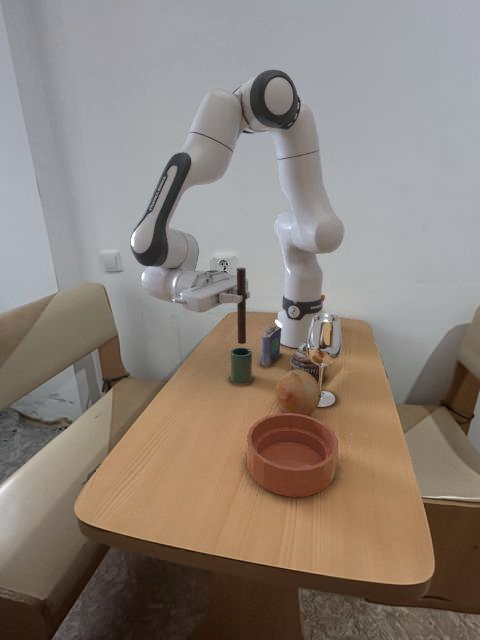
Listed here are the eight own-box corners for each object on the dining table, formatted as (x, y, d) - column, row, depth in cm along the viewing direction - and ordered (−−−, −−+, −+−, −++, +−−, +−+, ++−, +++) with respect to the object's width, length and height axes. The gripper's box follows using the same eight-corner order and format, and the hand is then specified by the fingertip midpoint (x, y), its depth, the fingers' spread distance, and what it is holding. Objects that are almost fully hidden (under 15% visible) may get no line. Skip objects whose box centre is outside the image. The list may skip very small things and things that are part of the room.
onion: (317, 429, 76) (321, 386, 72) (269, 421, 79) (271, 380, 74) (321, 404, 85) (325, 364, 80) (278, 397, 87) (280, 359, 83)
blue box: (268, 368, 101) (269, 331, 97) (258, 365, 102) (258, 329, 98) (281, 355, 108) (283, 320, 104) (272, 353, 110) (273, 319, 105)
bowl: (272, 429, 76) (273, 404, 74) (346, 456, 69) (350, 429, 66) (230, 476, 64) (230, 448, 62) (315, 514, 57) (318, 484, 54)
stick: (240, 340, 92) (239, 266, 84) (247, 341, 91) (247, 267, 83) (236, 342, 90) (235, 268, 83) (243, 344, 89) (242, 269, 82)
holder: (238, 373, 98) (237, 345, 95) (255, 378, 96) (255, 350, 92) (227, 381, 94) (226, 353, 91) (244, 387, 92) (244, 358, 88)
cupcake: (300, 366, 102) (302, 332, 98) (333, 376, 97) (337, 340, 93) (282, 379, 95) (283, 343, 91) (316, 391, 90) (319, 353, 86)
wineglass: (314, 386, 92) (321, 309, 84) (342, 398, 87) (352, 317, 78) (294, 398, 87) (300, 317, 79) (323, 411, 82) (331, 326, 74)
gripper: (167, 286, 82) (218, 295, 76) (219, 268, 98) (266, 274, 92) (169, 313, 85) (219, 324, 78) (220, 291, 101) (265, 299, 94)
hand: (244, 297), depth 85 cm, fingers closed on stick, 2 cm apart
